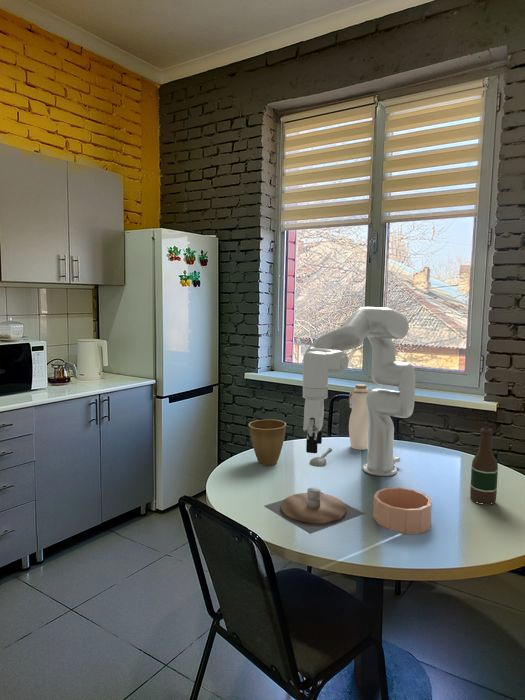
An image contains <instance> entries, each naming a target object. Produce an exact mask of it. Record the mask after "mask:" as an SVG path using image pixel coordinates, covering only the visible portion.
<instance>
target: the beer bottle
mask: <svg viewBox="0 0 525 700" xmlns="http://www.w3.org/2000/svg"><path fill="white" fill-rule="evenodd" d="M479 432H480V438H479V439H480V440H479V447H478V450H477V451H478V452H477V453H476V455H475V456H473V459H472V460H471V461H472V462H471V472H470V473H471V474H470V491H469V492H470V493H469V494H470V495H469V496H470V497H469V498H470V500H471V499H472V500H471V501H472V502H474V503H475V502H478V503H483V504H491V503H494V502H495V503H496V501H497V493H498V492H497V491H498V489H497V488H498V472H499V471H498V470H499V466H498V465H499V464H498V463H499V462H497V458H496V456H495V455H494V453H493V452H494V451H493V433H494V431H493V429H491V428H489V427H482V428H480V430H479ZM478 503H477V504H478ZM495 503H494V504H495Z"/></svg>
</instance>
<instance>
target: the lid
mask: <svg viewBox="0 0 525 700" xmlns="http://www.w3.org/2000/svg"><path fill="white" fill-rule="evenodd" d="M306 490H307V492H302V493H296V494H295V493H294V494H292V495H289V496H286V497H285V498H284V499H282V500H283V501H282V503H281V510H282V513H283V514H284V515H285V516H286V517H288V518H290V519H292V520H294V521H297V522H301V523H306V524H329V523H334V522H337V521H339V520H341V519H342V518H344V517H345V515H346V510H347V508H346V505H345V504H346V503H345V502H343V500H341V499H340V498H338V497H336V496H333V495H329V494H325V493H324V494H320V492H321V489H320V488H318V487H309V488H307V489H306Z"/></svg>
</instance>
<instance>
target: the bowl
mask: <svg viewBox="0 0 525 700" xmlns="http://www.w3.org/2000/svg"><path fill="white" fill-rule="evenodd" d="M432 506H433V500H432V498H431V497H430V496H428V495H427V494H425V493H423V492H421V491H418V490H416V489H412V488H406V487H385V488H382V489H381V488H380V489H378V490H377V491H376V492H375V494H374V495H373V514H372V515H373V519H374V520H375V521H376V523H377V524H378V525H380V526H382V527H384V528H386V529H388V530H391V531H395V532H399V534H403V535H420V534H423V533H425V532H427V531H430V529H431V526H430V525H432V511H433V510H432V509H433V508H432Z"/></svg>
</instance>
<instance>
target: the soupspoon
mask: <svg viewBox="0 0 525 700" xmlns="http://www.w3.org/2000/svg"><path fill="white" fill-rule="evenodd" d="M329 452H333V449H332V448H331V447H329V448H328V449H327V450H326V451H325V452H324V453H323V454H322V455H321V456H316V457H313V458H311V459H310V460H309V465H310V466H312V467H318V468H319V467H320V468H323V467H324V466H325V465H326V464H327V459H326V458H325V457H324V456H325V455H326V454H327V453H329Z"/></svg>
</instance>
